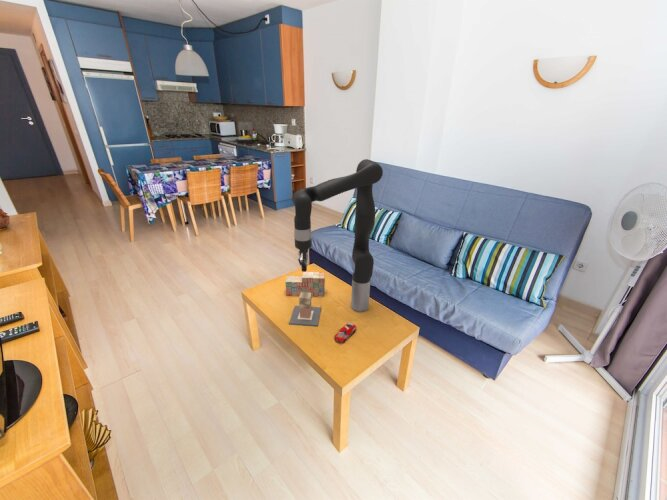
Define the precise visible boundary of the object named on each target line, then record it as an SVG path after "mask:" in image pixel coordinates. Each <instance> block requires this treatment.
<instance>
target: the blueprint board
mask: <svg viewBox="0 0 667 500" xmlns="http://www.w3.org/2000/svg"><path fill="white" fill-rule="evenodd" d="M321 312H322V307H321V306H319V307H318V306H311V316H310V318H300V308H299V305H294V307H293V311H292V313H291V316H290V318H289V322H288V325H291V326H292V325H293V326H306V327H307V326H309V327H318V325H319V323H320V316H321Z"/></svg>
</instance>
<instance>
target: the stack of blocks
mask: <svg viewBox="0 0 667 500" xmlns="http://www.w3.org/2000/svg"><path fill="white" fill-rule="evenodd" d="M325 278H326V275H325V272H318V271H306V272H302V276H297V275H296V276H293V275H291V276H290V275H287V276H286V278H285V295H286V296H287V297H288V296H292V297H299V296H300V293H301V292H308V293H311V297H321V298H322V297H325V289H326V288H325V285H326V284H325V283H326V279H325Z"/></svg>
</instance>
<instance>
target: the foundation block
mask: <svg viewBox="0 0 667 500" xmlns="http://www.w3.org/2000/svg"><path fill="white" fill-rule="evenodd" d="M311 307H312V304H311V305H310V309H306V308H300V318H310V316H311Z"/></svg>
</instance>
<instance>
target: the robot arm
mask: <svg viewBox="0 0 667 500" xmlns="http://www.w3.org/2000/svg"><path fill="white" fill-rule="evenodd" d="M355 171H356V172H354V173H352V174H348V175H345V176H340V177H336V178H332V179H328V180H326V181H324V182H320V183H318V184H316V185H314V186H309V187H305V188H301V189H298V190H297V191H295V192H294V193H293V194H292V197H291V200H292V204H293V205H294V210H295V214H294V216H293V217H294V218H293V220H294V221H293V222H294V232H293V235H294V236H293V237H294V247H295V248H296V249H297V250H299V251H298V257H299V258H298V263H299V266H301V272H302V273H303V272H308V271H307V270H308V259H309V250H310V248H312V246H313V245H312V244H313V241H312V240H313V239H312V222H311V216H312V215H311V214H312V209H313V207H312V206H313V202H323V201H326V200H328V199H331V198H333V197H335V196H338V195H340V194H343V193H345V192H348V191H351V190H355V189H356V199H355V201H356V202H355V215H354V240H353V248H352V253H351V258H352V262H353V264H354V272H353V273H352V274H351V275H352V276H351V277H352V281H351V294H350V295H351V297H350V298H351V299H350V307H351V309H352V310H353V311H355V312H360V313H361V312H366V311H369V305H370V291H371V280H372V276H373V271H374V263H375V262H374V257H373V255H372V254H371V252H370V246H369V245H370V237H371V234H372V232H373V231H374V228H375V223H376V221H375V220H376V206H375V201H374V196H373V187H374V186H373V185H374V184H377V183H379V181H380V180H381V179H382V178H383V174H384V171H383V168H382V166H381V165H380V164H379V163H377V162H376V161H373V160H370V159H368V158H367V159H362V160H361V161H359V163H358V164H357V166H356V170H355Z"/></svg>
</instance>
